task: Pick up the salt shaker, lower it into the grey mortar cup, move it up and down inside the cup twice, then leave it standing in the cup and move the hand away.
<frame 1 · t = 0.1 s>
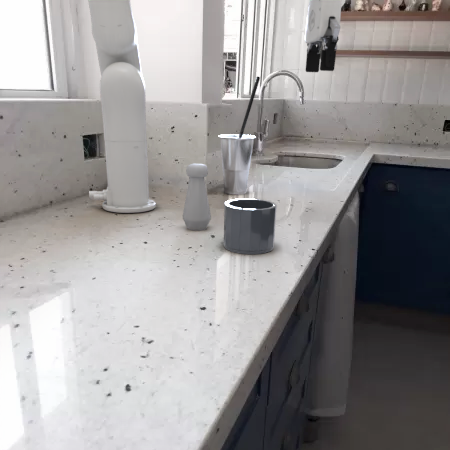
hand: (319, 71, 112), 31 cm above the worktop, tool pointing down, fingers open, 9 cm apart
grey mortar cup: (248, 246, 90), on the worktop
salt shaker: (196, 228, 101), on the worktop
glass: (237, 193, 137), on the worktop
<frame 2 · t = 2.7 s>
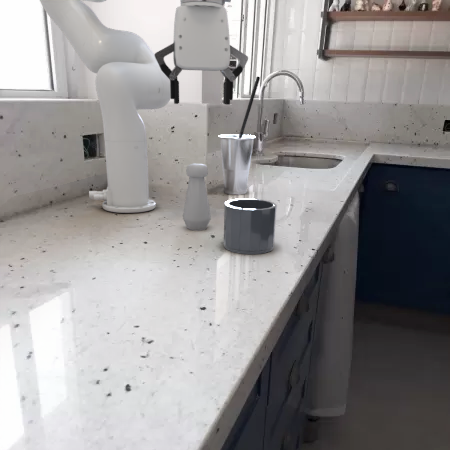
hand: (201, 104, 92), 24 cm above the worktop, tool pointing down, fingers open, 9 cm apart
nothing on the worktop moved.
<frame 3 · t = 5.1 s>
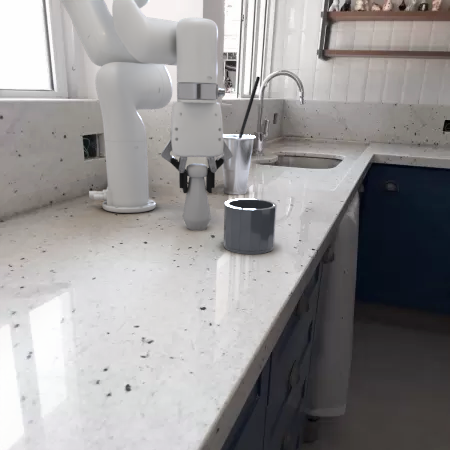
hand: (197, 190, 98), 8 cm above the worktop, tool pointing down, fingers closed on salt shaker, 4 cm apart
salt shaker: (196, 228, 101), on the worktop, touching gripper
everything else where it was.
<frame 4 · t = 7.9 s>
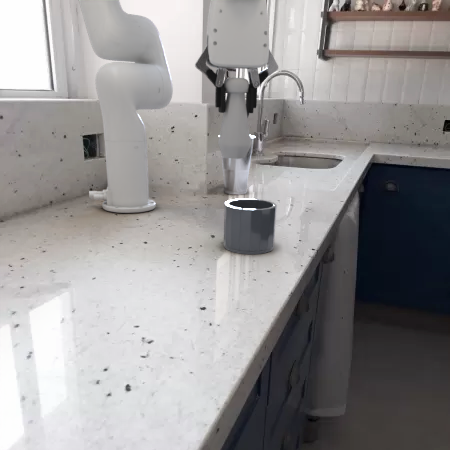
hand: (235, 111, 84), 23 cm above the worktop, tool pointing down, fingers closed on salt shaker, 4 cm apart
salt shaker: (234, 158, 87), point 15 cm above the worktop, touching gripper
everything else where it was.
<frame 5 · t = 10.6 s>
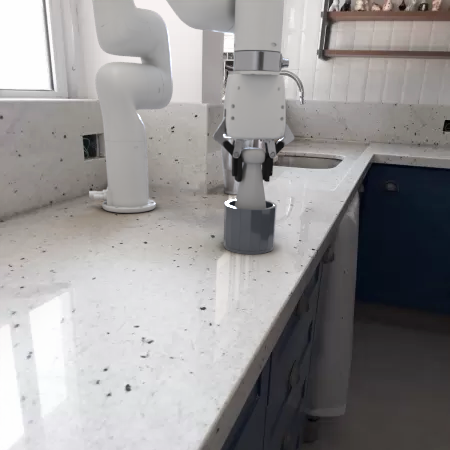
hand: (251, 179, 85), 12 cm above the worktop, tool pointing down, fingers closed on salt shaker, 4 cm apart
salt shaker: (249, 223, 88), point 4 cm above the worktop, touching gripper
everything else where it was.
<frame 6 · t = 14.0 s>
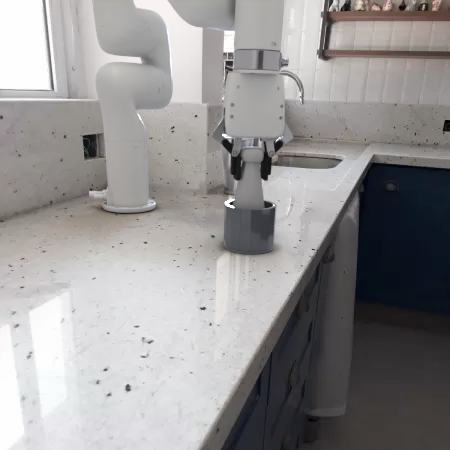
hand: (250, 178, 85), 12 cm above the worktop, tool pointing down, fingers closed on salt shaker, 4 cm apart
salt shaker: (247, 222, 88), point 5 cm above the worktop, touching gripper
everything else where it was.
when the fingers open (8 cm above the worktop, at t = 16.3 s): salt shaker stays where it is, resting on grey mortar cup.
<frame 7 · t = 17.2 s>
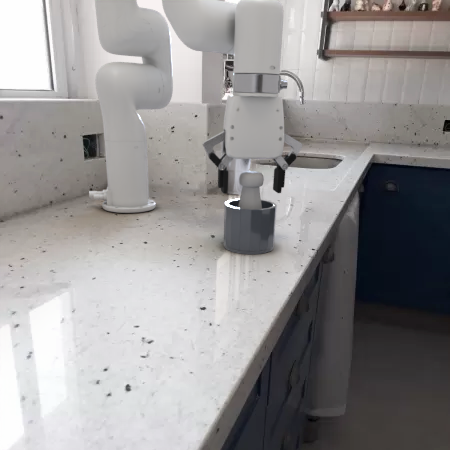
hand: (250, 191, 86), 10 cm above the worktop, tool pointing down, fingers open, 9 cm apart
salt shaker: (248, 244, 90), resting on grey mortar cup
everything else where it was.
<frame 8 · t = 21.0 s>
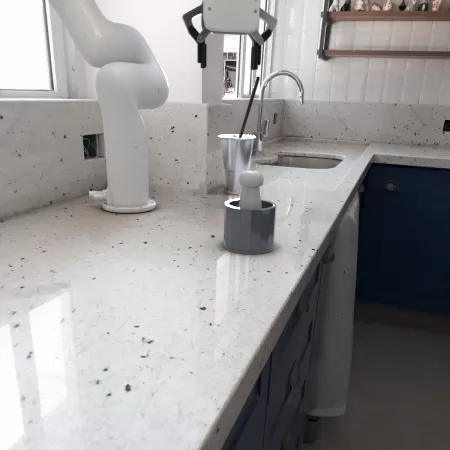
hand: (229, 68, 90), 30 cm above the worktop, tool pointing down, fingers open, 9 cm apart
nothing on the worktop moved.
at the end: salt shaker 0.1 cm off-centre in the grey mortar cup, point 0.4 cm above the grey mortar cup's base; salt shaker tilted 0°; the gripper is holding nothing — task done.
